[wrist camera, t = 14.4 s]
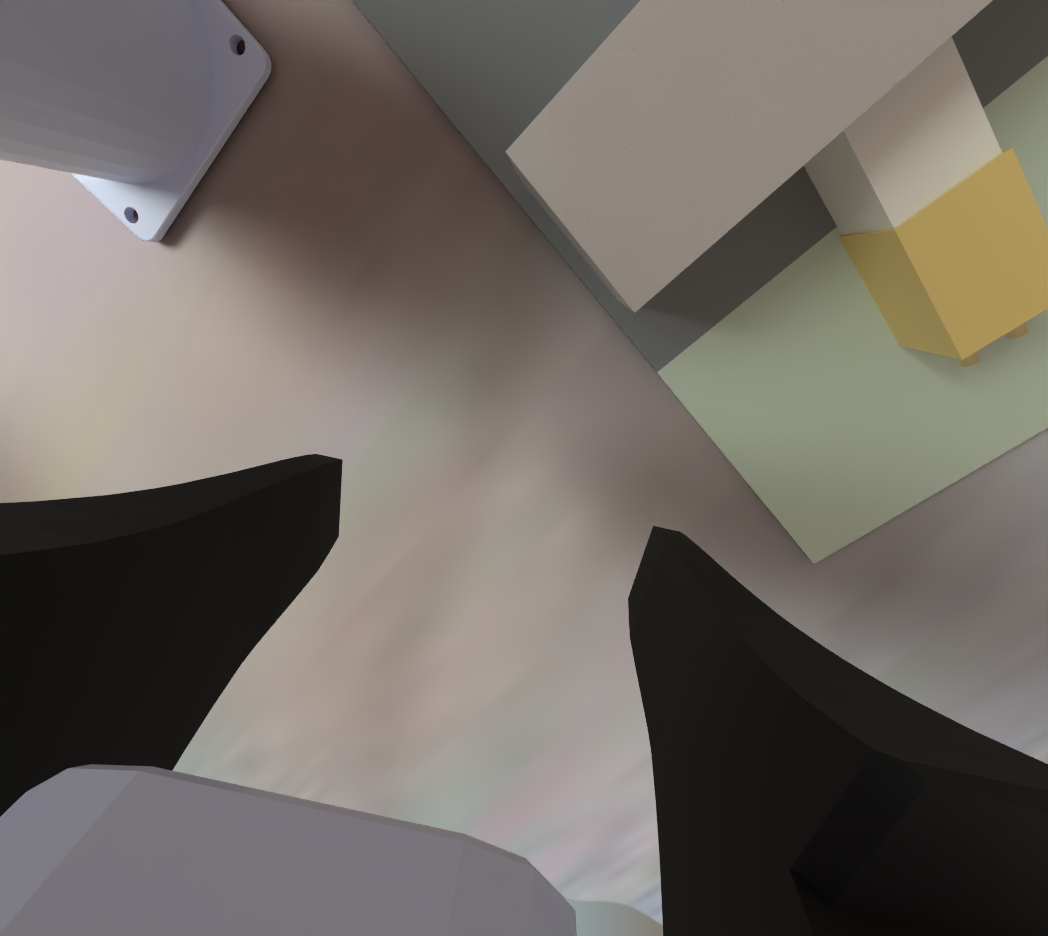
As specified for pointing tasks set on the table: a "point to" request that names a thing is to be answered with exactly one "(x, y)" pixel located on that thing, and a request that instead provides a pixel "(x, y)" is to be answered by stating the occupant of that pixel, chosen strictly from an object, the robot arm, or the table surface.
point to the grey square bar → (709, 119)
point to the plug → (937, 214)
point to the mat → (772, 279)
